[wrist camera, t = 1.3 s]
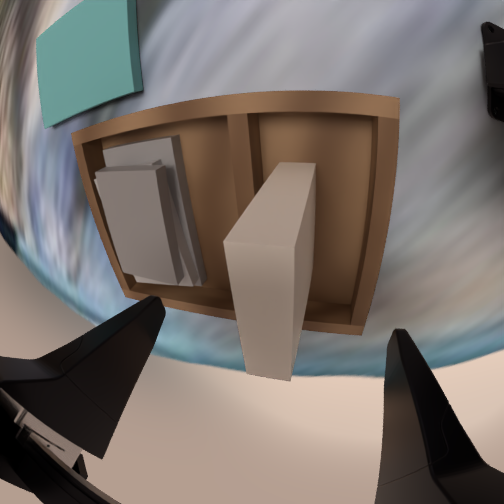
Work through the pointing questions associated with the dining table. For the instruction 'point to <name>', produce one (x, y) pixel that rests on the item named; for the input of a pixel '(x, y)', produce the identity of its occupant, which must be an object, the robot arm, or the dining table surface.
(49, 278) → the dining table surface
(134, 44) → the mat
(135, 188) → the offcut stack
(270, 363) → the beige rectangular block
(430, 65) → the dining table surface
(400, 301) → the dining table surface
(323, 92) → the wooden divided tray
